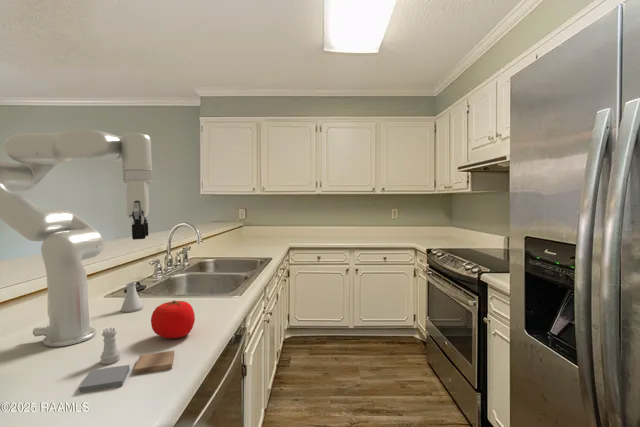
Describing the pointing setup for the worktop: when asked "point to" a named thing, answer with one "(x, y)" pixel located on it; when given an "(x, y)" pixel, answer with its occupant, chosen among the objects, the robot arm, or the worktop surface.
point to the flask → (131, 299)
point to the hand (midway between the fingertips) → (140, 237)
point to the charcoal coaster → (104, 378)
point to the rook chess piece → (109, 347)
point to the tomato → (173, 319)
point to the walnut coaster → (154, 362)
